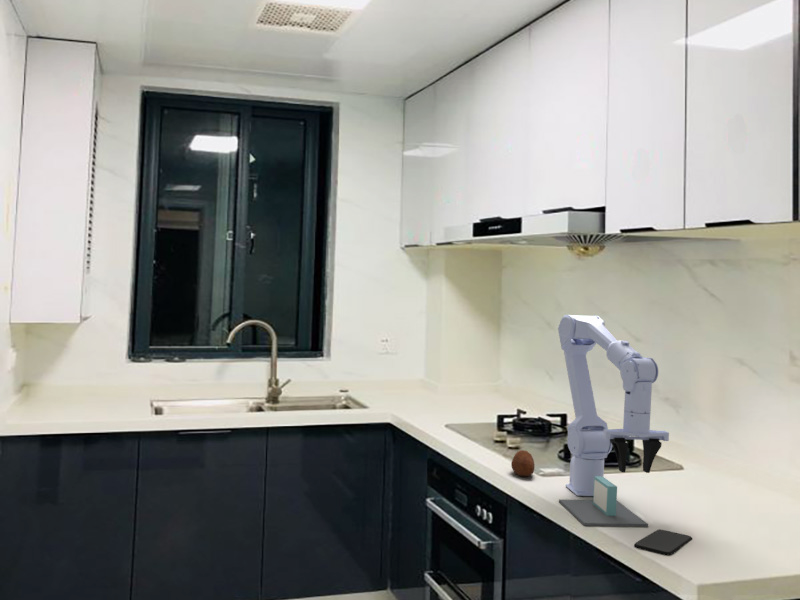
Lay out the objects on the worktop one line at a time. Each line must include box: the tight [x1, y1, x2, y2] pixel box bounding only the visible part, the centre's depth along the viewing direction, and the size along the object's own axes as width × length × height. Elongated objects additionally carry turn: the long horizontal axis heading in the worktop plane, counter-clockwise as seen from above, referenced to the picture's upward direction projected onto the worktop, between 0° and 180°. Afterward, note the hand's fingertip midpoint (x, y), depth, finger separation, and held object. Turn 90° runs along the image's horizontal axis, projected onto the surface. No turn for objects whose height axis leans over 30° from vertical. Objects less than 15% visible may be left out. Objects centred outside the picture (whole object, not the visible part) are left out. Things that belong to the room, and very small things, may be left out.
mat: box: [558, 499, 649, 528], centre depth 176 cm, size 18×14×1 cm
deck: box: [592, 476, 618, 516], centre depth 177 cm, size 9×2×6 cm, turn 6°
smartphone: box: [633, 528, 693, 556], centre depth 157 cm, size 7×1×15 cm
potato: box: [510, 449, 535, 477], centre depth 209 cm, size 6×12×6 cm, turn 7°
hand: (634, 471), depth 177 cm, fingers open, 5 cm apart
